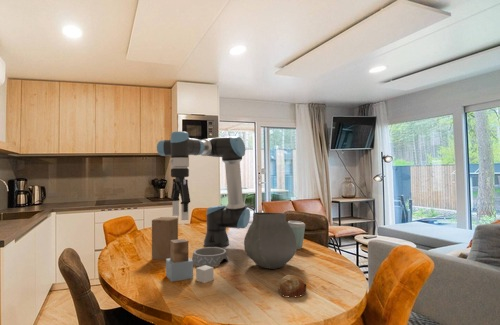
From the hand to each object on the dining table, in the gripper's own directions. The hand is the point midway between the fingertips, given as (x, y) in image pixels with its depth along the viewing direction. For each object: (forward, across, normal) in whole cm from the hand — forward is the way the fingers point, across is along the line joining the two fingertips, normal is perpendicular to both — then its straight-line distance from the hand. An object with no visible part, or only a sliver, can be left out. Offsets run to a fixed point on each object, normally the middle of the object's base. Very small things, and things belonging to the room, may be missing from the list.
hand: (180, 217), depth 132 cm
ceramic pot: (+25, +8, +40) cm, 48 cm away
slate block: (+24, +1, -1) cm, 25 cm away
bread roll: (+25, +38, +30) cm, 55 cm away
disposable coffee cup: (+25, -13, +71) cm, 77 cm away
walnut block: (+18, +1, -1) cm, 18 cm away
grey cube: (+25, +10, +7) cm, 28 cm away
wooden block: (+25, -32, +1) cm, 41 cm away
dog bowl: (+25, -14, +19) cm, 34 cm away
